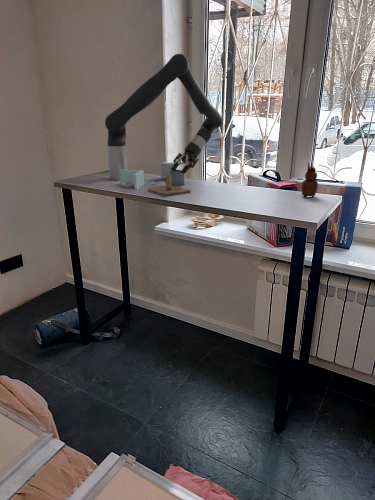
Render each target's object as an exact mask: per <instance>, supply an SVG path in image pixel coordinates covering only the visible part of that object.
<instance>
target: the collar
mask: <svg viewBox="0 0 375 500" xmlns="http://www.w3.org/2000/svg"><path fill="white" fill-rule="evenodd" d="M181 171H182V169H177V170H170V175H171V186H176V187H180V186H185V174H183V173H182V172H181Z"/></svg>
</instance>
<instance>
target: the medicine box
mask: <svg viewBox="0 0 375 500" xmlns="http://www.w3.org/2000/svg"><path fill="white" fill-rule="evenodd" d="M173 165H174V162H169V161H167V162H165V161H164V162H161V163H160V172H161V173H160V175H161V176H160V178H161V180H166V176H167V175H168V174H170V170H171V168H172V166H173ZM176 170H178V168H177V169H176Z"/></svg>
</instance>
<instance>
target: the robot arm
mask: <svg viewBox="0 0 375 500" xmlns="http://www.w3.org/2000/svg"><path fill="white" fill-rule="evenodd" d="M193 75H194V74H193V73H192V71H191V68H190V65H189V59H188V58H187V57H186V56H185V54H183V53H176V54H174V55H172V56H171V58H170V59H169V61H168V62H166V63H165V65H164V66H163V67H161V69H160V70H159V71H158V72H156V73H155V74H153V75H152V76H151V77H150V78H148V79H147V80H146V81H145V82H144V83H143V84H141V85H140V86H139V87H137V89H136V90H135V91H134V92H133V93H132V94H131V95H130V96H129V97H128V98H127V100H126V101H124V102H123V104H121V106H119V107H118V108H116V109H115V110H113V111H112V112H111V113H109V114H108V115H107V116H106V117H105V121H104V125H105V127H106V129H107V135H108V136H107V156H108V161H107V162H108V176H109V179H110V180H113V181H120V170H128V167H127V151H126V150H127V148H126V147H127V146H126V142H127V132H126V131H127V129H126V127H127V125H126V124H127V123H128V122H129V121H130V120H131V119H132V118H133V117H135V116H136V115H137V114H138V113H140V112H142V111H143V110H145V109H146V108H147V107H149V106H150V105H152V103H153V102H154V101H156V100H157V98H159V96H160V95H161V94H163V92H164V91H165V89H166V88H167V87H168V86H169V85H170V84H171V83H173V82H174V81H175V80H176V79H178V80H179V81H180V83H181V84H182V85H183V87H184V88H185V90H186V91H187V93H188V95H189V97H190V98H191V101H192V103H193V105H194V106H195V108H196V110H197V111H198V113H199V114H201V115H204V116H205V119H204V121H203V122H202V124H201V126H200V128H199V130H198V131H197V132H196V133H195V135H194V136H193V137H192V138H191V140H190V141H189V143H188V144H187V145H186V146H185V147H184V152H183V153H181V152H179V153H178V154H177V155H176V156H175V158H174V159H173V160H172V161H173V163H174V165H173V166H172V168H171V170H176V169H177V170H178V168H179V166H180V165H184V164H185V166H184V167H183V168H182V169H181V170H182V171H181V172H182V173H183V174H184V175H185V174H186V173H187V172H188V170H189V169H193V168H194V167H195V166H196V164H197V163H198V161H199V160H200V159H199V156H200V154H201V153H202V151H203V150H204V148H205V147H206V146H207V143H208V142H209V141H210V139H211V138H212V133H213V132H214V131H215V130H217V129H219V128H221V126H222V125H223V117H222V115H221V113H220V112H219V111H218V110H217V109H216V107H214V106H213V105H212V104H211V102H210V100H209V98H208V97H207V95H206V94H205V92H204V91H203V89H202V88H201V86H200V85H199V84H198V82H197V80H196V79H195V77H194V76H193Z"/></svg>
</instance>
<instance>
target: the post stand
mask: <svg viewBox="0 0 375 500" xmlns="http://www.w3.org/2000/svg"><path fill="white" fill-rule="evenodd" d="M165 180H166V186H165V185H164V186H160V187H159V186H158V187H152V188H148V189H147V191H148V192H149V193H153V194H156V195H159V196H162V197H171V196H177V195H184V194H185V195H186V194H191V189H190V190H189V189H188V188H187V189H186V188H182V187H180V186H173V185H171V175H170V174H168V175H167V176H166V179H165Z"/></svg>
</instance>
